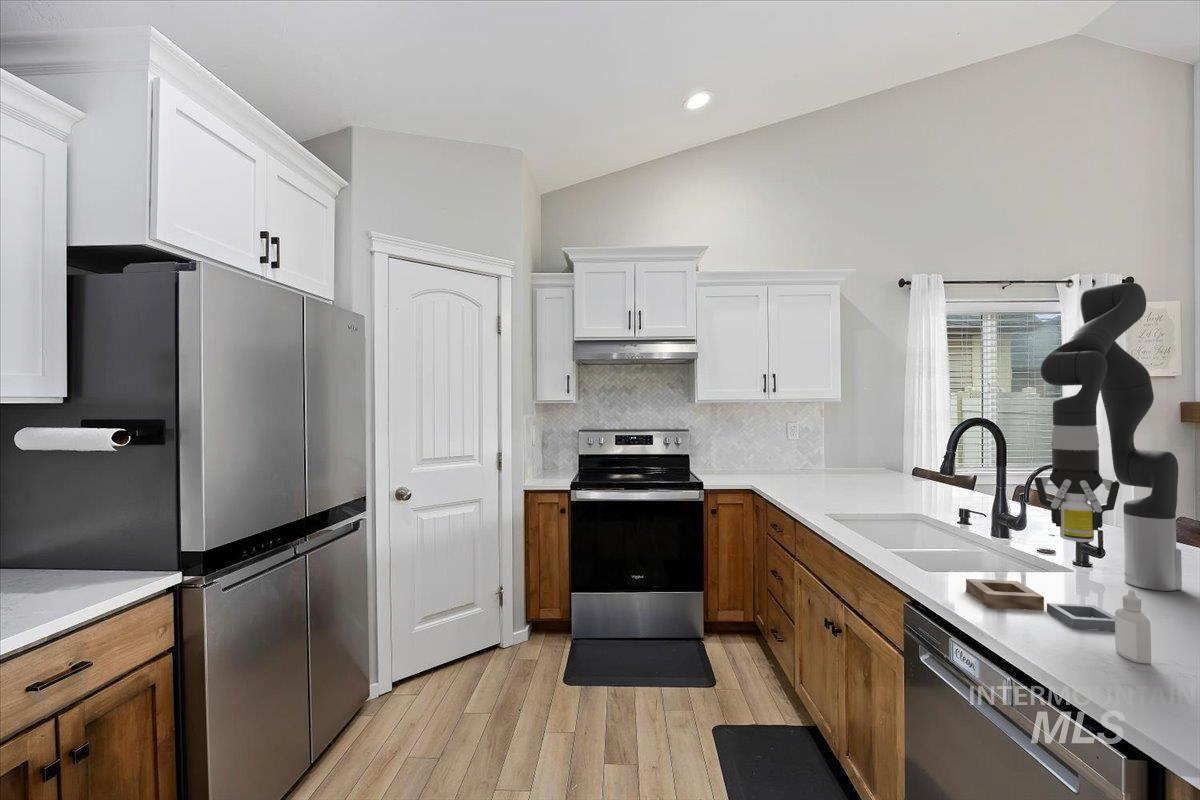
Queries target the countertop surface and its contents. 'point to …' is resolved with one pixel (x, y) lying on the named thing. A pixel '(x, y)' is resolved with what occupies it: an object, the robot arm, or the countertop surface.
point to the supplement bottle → (1076, 518)
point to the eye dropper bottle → (1132, 631)
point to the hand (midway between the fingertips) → (1076, 527)
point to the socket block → (1004, 594)
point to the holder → (1069, 612)
